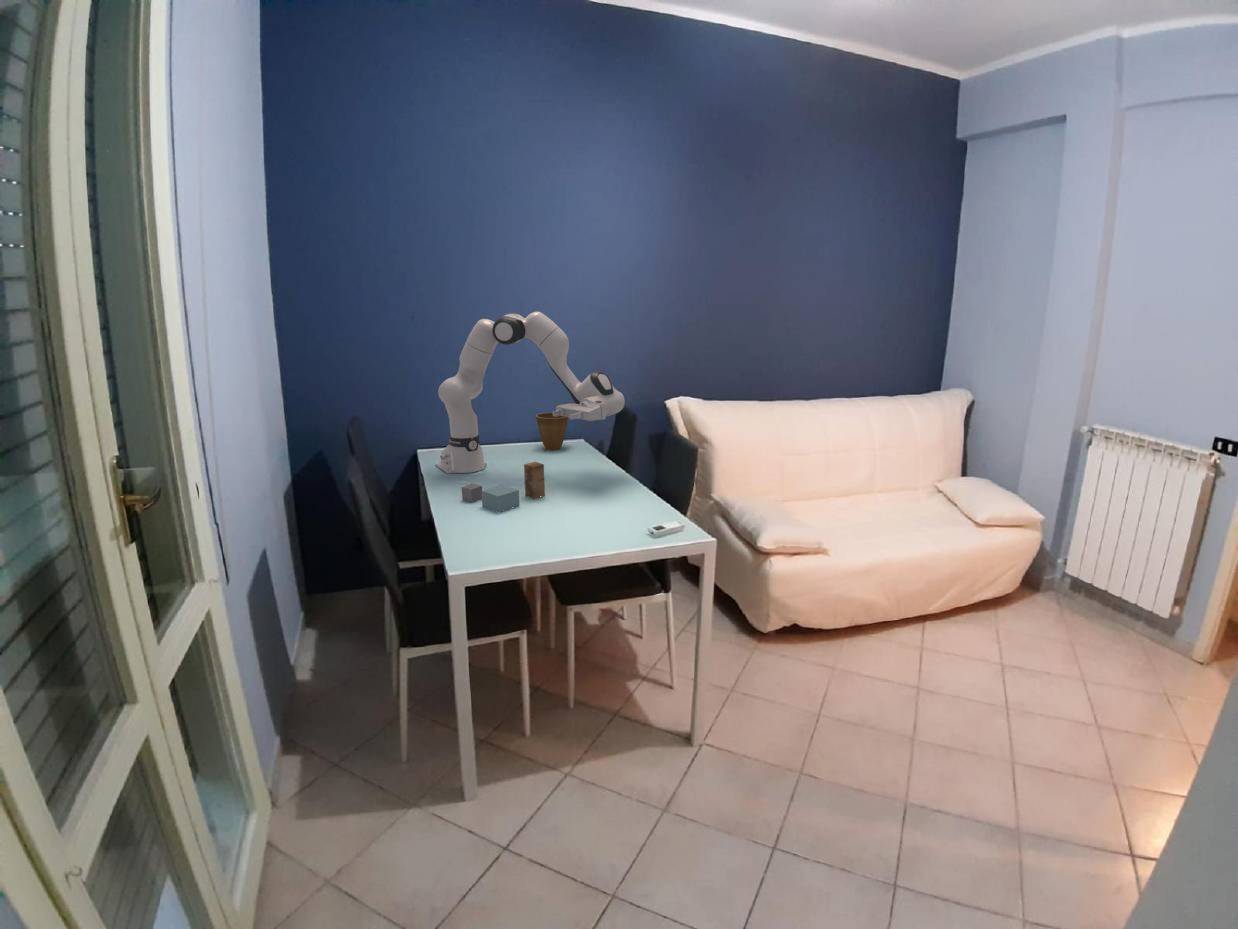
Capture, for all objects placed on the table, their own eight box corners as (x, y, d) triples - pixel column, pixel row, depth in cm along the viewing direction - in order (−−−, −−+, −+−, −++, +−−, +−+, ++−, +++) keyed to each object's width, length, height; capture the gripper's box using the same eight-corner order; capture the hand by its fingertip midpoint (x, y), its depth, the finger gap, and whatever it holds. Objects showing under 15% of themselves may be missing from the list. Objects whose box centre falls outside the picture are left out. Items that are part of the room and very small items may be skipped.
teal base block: (482, 507, 211) (481, 490, 210) (503, 500, 218) (502, 484, 216) (499, 513, 206) (498, 496, 204) (519, 506, 212) (518, 489, 210)
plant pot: (571, 451, 283) (571, 417, 279) (539, 453, 279) (538, 419, 275) (565, 443, 297) (564, 411, 292) (535, 445, 293) (533, 412, 288)
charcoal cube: (462, 500, 218) (461, 487, 216) (472, 496, 222) (472, 483, 220) (472, 503, 215) (471, 489, 213) (482, 499, 219) (481, 485, 217)
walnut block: (525, 496, 222) (524, 464, 219) (536, 492, 225) (535, 461, 222) (533, 499, 219) (532, 467, 215) (544, 496, 222) (543, 464, 219)
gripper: (572, 398, 239) (543, 404, 230) (607, 403, 225) (578, 410, 216) (573, 413, 241) (545, 420, 232) (608, 419, 227) (579, 427, 218)
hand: (561, 415), depth 224 cm, fingers open, 8 cm apart
